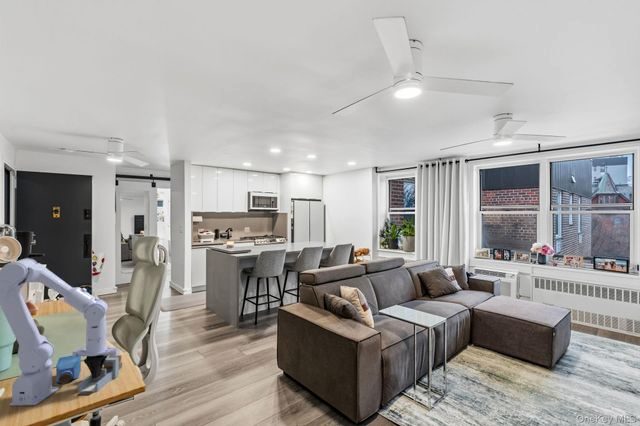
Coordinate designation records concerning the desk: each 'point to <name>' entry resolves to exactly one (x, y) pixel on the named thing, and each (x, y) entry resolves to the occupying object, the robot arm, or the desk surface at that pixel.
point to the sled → (104, 373)
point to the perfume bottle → (68, 368)
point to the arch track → (89, 386)
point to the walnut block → (110, 364)
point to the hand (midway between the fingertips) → (96, 376)
